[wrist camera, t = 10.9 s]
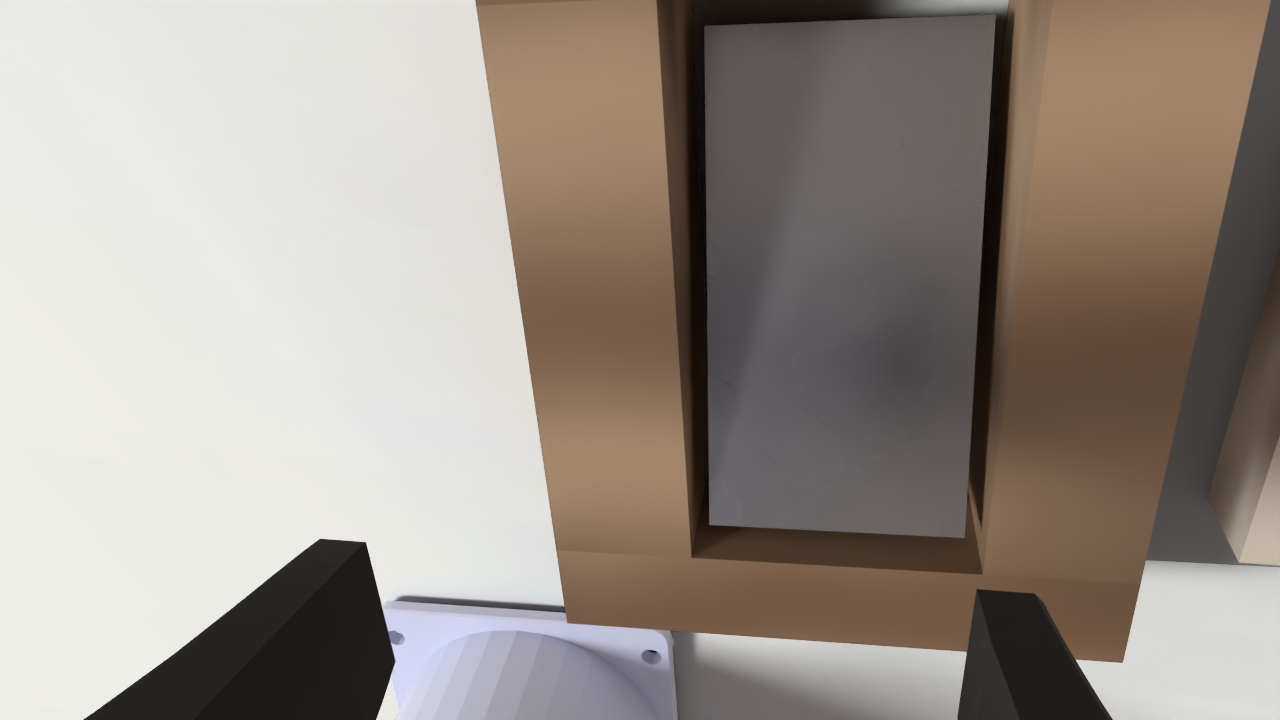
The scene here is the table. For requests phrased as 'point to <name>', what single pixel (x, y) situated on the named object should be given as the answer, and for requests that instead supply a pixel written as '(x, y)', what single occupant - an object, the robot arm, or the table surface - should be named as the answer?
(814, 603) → the walnut board
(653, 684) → the robot arm
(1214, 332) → the slate mat
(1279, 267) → the birch bar
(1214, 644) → the table surface
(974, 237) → the tipping switch rocker
